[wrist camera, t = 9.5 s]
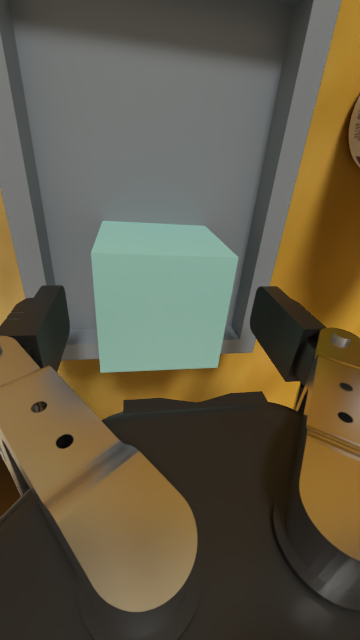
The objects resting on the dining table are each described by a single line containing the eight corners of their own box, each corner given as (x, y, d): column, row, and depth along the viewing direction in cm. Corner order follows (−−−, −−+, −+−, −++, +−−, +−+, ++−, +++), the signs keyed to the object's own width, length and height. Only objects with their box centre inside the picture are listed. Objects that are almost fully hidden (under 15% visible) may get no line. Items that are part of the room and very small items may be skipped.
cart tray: (291, 4, 12) (354, -53, 9) (231, 319, 20) (252, 352, 17) (-10, -55, 10) (-79, -158, 7) (56, 322, 18) (39, 361, 15)
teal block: (205, 226, 14) (238, 257, 10) (194, 312, 17) (217, 367, 12) (102, 220, 13) (90, 252, 9) (107, 313, 16) (100, 372, 11)
